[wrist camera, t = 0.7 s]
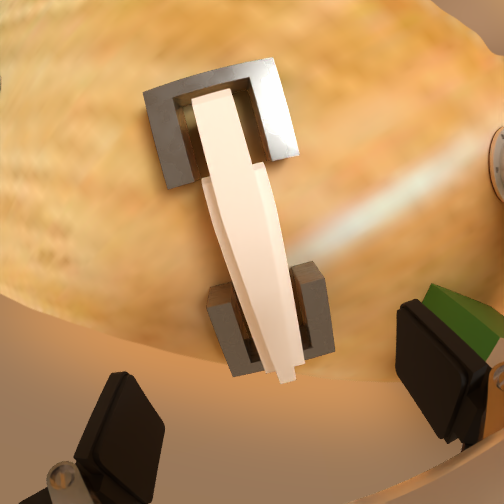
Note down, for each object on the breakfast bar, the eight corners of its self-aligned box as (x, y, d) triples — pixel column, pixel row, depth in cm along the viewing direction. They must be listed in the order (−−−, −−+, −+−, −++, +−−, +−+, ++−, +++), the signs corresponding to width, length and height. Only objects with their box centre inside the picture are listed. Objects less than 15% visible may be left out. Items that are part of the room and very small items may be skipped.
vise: (267, 72, 27) (272, 57, 22) (324, 328, 36) (335, 351, 31) (156, 101, 27) (142, 92, 22) (232, 351, 36) (232, 377, 32)
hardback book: (490, 306, 38) (578, 379, 15) (470, 342, 40) (548, 423, 17) (431, 283, 35) (550, 383, 12) (408, 328, 37) (503, 445, 14)
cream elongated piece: (255, 336, 36) (257, 389, 24) (201, 139, 34) (177, 100, 21) (298, 324, 36) (319, 373, 23) (245, 127, 33) (242, 82, 21)
